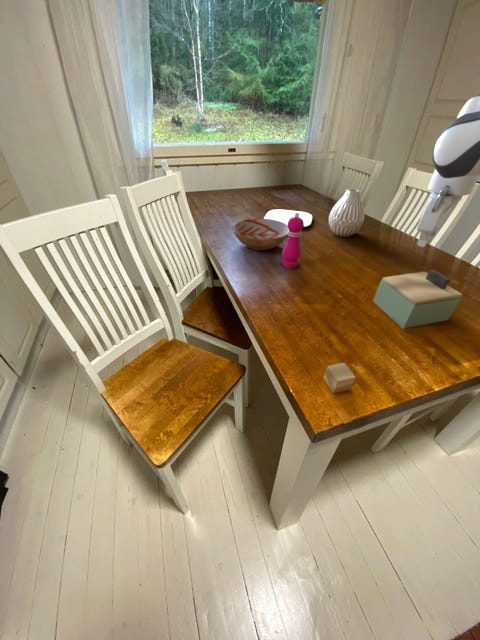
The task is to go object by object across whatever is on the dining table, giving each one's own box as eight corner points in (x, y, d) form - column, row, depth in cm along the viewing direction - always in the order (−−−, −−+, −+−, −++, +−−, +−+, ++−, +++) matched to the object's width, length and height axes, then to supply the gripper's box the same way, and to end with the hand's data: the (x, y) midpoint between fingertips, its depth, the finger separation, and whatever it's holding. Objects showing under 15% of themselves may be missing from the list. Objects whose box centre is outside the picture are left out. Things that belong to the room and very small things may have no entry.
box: (447, 320, 82) (461, 298, 77) (403, 328, 78) (414, 306, 73) (413, 294, 92) (423, 274, 87) (372, 301, 89) (381, 280, 84)
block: (350, 389, 61) (355, 377, 59) (332, 393, 61) (337, 381, 58) (340, 375, 65) (344, 362, 62) (323, 378, 64) (327, 366, 61)
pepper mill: (277, 263, 109) (282, 212, 97) (289, 258, 113) (295, 208, 100) (291, 270, 105) (298, 217, 92) (302, 264, 109) (311, 213, 96)
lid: (461, 296, 77) (468, 285, 74) (414, 304, 73) (420, 292, 71) (424, 273, 87) (429, 262, 84) (382, 279, 84) (386, 268, 81)
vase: (323, 227, 141) (331, 185, 129) (353, 228, 141) (365, 186, 128) (329, 239, 129) (339, 194, 116) (363, 240, 128) (377, 195, 116)
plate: (313, 215, 156) (313, 212, 155) (309, 231, 137) (310, 227, 136) (269, 211, 161) (269, 208, 160) (260, 225, 142) (260, 222, 141)
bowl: (243, 231, 135) (243, 215, 130) (293, 239, 129) (295, 222, 124) (224, 252, 117) (223, 234, 112) (281, 261, 110) (283, 243, 105)
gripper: (458, 193, 56) (429, 256, 64) (474, 178, 68) (447, 232, 76) (425, 188, 59) (400, 249, 67) (445, 174, 71) (423, 227, 79)
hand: (425, 240), depth 72 cm, fingers open, 8 cm apart
